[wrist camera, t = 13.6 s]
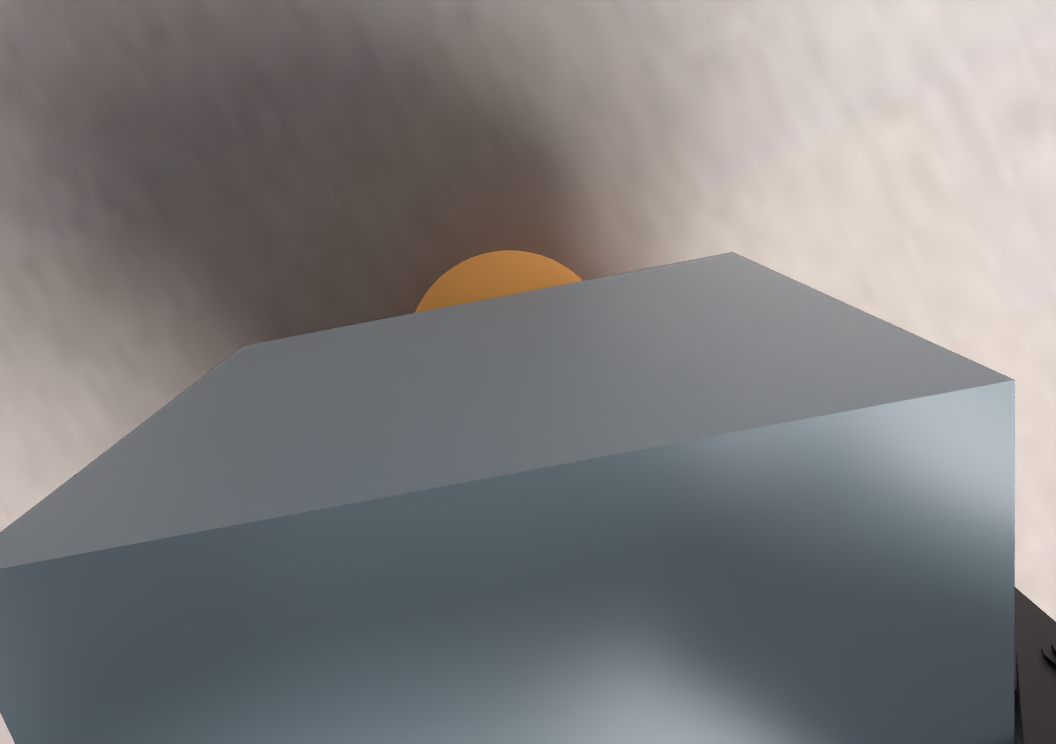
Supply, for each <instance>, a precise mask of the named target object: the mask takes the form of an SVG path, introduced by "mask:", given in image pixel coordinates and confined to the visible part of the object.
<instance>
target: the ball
mask: <svg viewBox="0 0 1056 744" xmlns="http://www.w3.org/2000/svg"><path fill="white" fill-rule="evenodd" d="M579 281H583V280H582V279H581V278H580V277H579V276H578V275H577V274H575V273H574V272H573V271H571V270H570V269H569V268H567V267H566V266H564V265H562V264H560V263H559V262H557V261H555V260H553V259H550V258H548V257H545V256H543V255H539V254H535V253H531V252H525V251H518V250H502V251H493V252H488V253H484V254H480V255H477V256H474V257H471V258H469V259H467V260H465V261H463V262H461V263H459V264H457V265H456V266H454V267H453V268H451V269H450V270H448V271H447V272H445V273H444V274H443V275H442V276H441V277H440V278H438V279H437V280H436V282H435V283H434V284H433V285H432V286H431V287H430V288H429V290H428V291H427V292H426V294H425V295H424V297H423V298H422V300H421V301H420V303H419V305H418V307H417V309H416V311H415V313H416V312H422V311H427V310H432V309H437V308H443V307H448V306H453V305H458V304H463V303H469V302H474V301H479V300H484V299H490V298H495V297H500V296H505V295H511V294H516V293H521V292H526V291H532V290H537V289H542V288H547V287H552V286H558V285H563V284H568V283H573V282H579Z"/></svg>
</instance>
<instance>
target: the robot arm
mask: <svg viewBox="0 0 1056 744" xmlns="http://www.w3.org/2000/svg"><path fill="white" fill-rule="evenodd" d="M1014 744H1056V622H1055V621H1054V620H1053V619H1052V618H1050V617H1049V616H1048V615H1047V614H1046V613H1045V612H1043V611H1042V610H1041V609H1040V608H1039V607H1038V606H1036V605H1035V604H1034V603H1033V602H1032V601H1031V600H1029V599H1028V598H1027V597H1026V596H1025V595H1024V594H1022V593H1021V592H1020V591H1019V590H1018V589H1017V588H1015V587H1014Z"/></svg>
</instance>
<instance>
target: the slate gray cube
mask: <svg viewBox="0 0 1056 744" xmlns="http://www.w3.org/2000/svg"><path fill="white" fill-rule="evenodd" d="M1014 553H1015V380H1014V379H1011V378H1009V377H1007V376H1005V375H1003V374H1000V373H998V372H996V371H994V370H992V369H989V368H987V367H985V366H983V365H981V364H978V363H976V362H974V361H972V360H970V359H967V358H965V357H963V356H961V355H959V354H956V353H954V352H952V351H950V350H947V349H945V348H943V347H941V346H939V345H936V344H934V343H932V342H930V341H928V340H925V339H923V338H921V337H919V336H917V335H914V334H912V333H910V332H908V331H906V330H903V329H901V328H899V327H897V326H895V325H892V324H890V323H888V322H886V321H884V320H881V319H879V318H877V317H875V316H873V315H870V314H868V313H866V312H864V311H862V310H859V309H857V308H855V307H853V306H851V305H848V304H846V303H844V302H842V301H840V300H837V299H835V298H833V297H831V296H828V295H826V294H824V293H822V292H820V291H817V290H815V289H813V288H811V287H809V286H806V285H804V284H802V283H800V282H798V281H795V280H793V279H791V278H789V277H787V276H784V275H782V274H780V273H778V272H776V271H773V270H771V269H769V268H767V267H765V266H762V265H760V264H758V263H756V262H754V261H751V260H749V259H747V258H745V257H743V256H740V255H738V254H736V253H734V252H730V253H725V254H720V255H715V256H710V257H704V258H699V259H694V260H689V261H683V262H678V263H673V264H668V265H662V266H657V267H652V268H647V269H641V270H636V271H631V272H626V273H621V274H615V275H610V276H605V277H600V278H594V279H589V280H584V281H579V282H573V283H568V284H563V285H558V286H552V287H547V288H542V289H537V290H532V291H526V292H521V293H516V294H511V295H505V296H500V297H495V298H490V299H484V300H479V301H474V302H469V303H463V304H458V305H453V306H448V307H443V308H437V309H432V310H427V311H422V312H416V313H411V314H406V315H401V316H395V317H390V318H385V319H380V320H375V321H369V322H364V323H359V324H354V325H348V326H343V327H338V328H333V329H327V330H322V331H317V332H312V333H306V334H301V335H296V336H291V337H286V338H280V339H275V340H270V341H265V342H259V343H254V344H249V345H244V346H242V347H241V348H240V349H238V350H237V351H236V352H234V353H233V354H232V355H230V356H229V357H228V358H227V359H225V360H224V361H223V362H221V363H220V364H219V365H217V366H216V367H215V368H214V369H212V370H211V371H210V372H208V373H207V374H206V375H204V376H203V377H202V378H201V379H199V380H198V381H197V382H195V383H194V384H193V385H191V386H190V387H189V388H187V389H186V390H185V391H184V392H182V393H181V394H180V395H178V396H177V397H176V398H174V399H173V400H172V401H171V402H169V403H168V404H167V405H165V406H164V407H163V408H161V409H160V410H159V411H158V412H156V413H155V414H154V415H152V416H151V417H150V418H148V419H147V420H146V421H145V422H143V423H142V424H141V425H139V426H138V427H137V428H135V429H134V430H133V431H132V432H130V433H129V434H128V435H126V436H125V437H124V438H122V439H121V440H120V441H119V442H117V443H116V444H115V445H113V446H112V447H111V448H109V449H108V450H107V451H106V452H104V453H103V454H102V455H100V456H99V457H98V458H96V459H95V460H94V461H92V462H91V463H90V464H89V465H87V466H86V467H85V468H83V469H82V470H81V471H79V472H78V473H77V474H76V475H74V476H73V477H72V478H70V479H69V480H68V481H66V482H65V483H64V484H63V485H61V486H60V487H59V488H57V489H56V490H55V491H53V492H52V493H51V494H50V495H48V496H47V497H46V498H44V499H43V500H42V501H40V502H39V503H38V504H37V505H35V506H34V507H33V508H31V509H30V510H29V511H27V512H26V513H25V514H24V515H22V516H21V517H20V518H18V519H17V520H16V521H14V522H13V523H12V524H11V525H9V526H8V527H7V528H5V529H4V530H3V531H1V532H0V713H1V715H2V717H3V719H4V721H5V723H6V725H7V727H8V729H9V732H10V734H11V736H12V738H13V740H14V742H15V744H1014Z"/></svg>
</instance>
